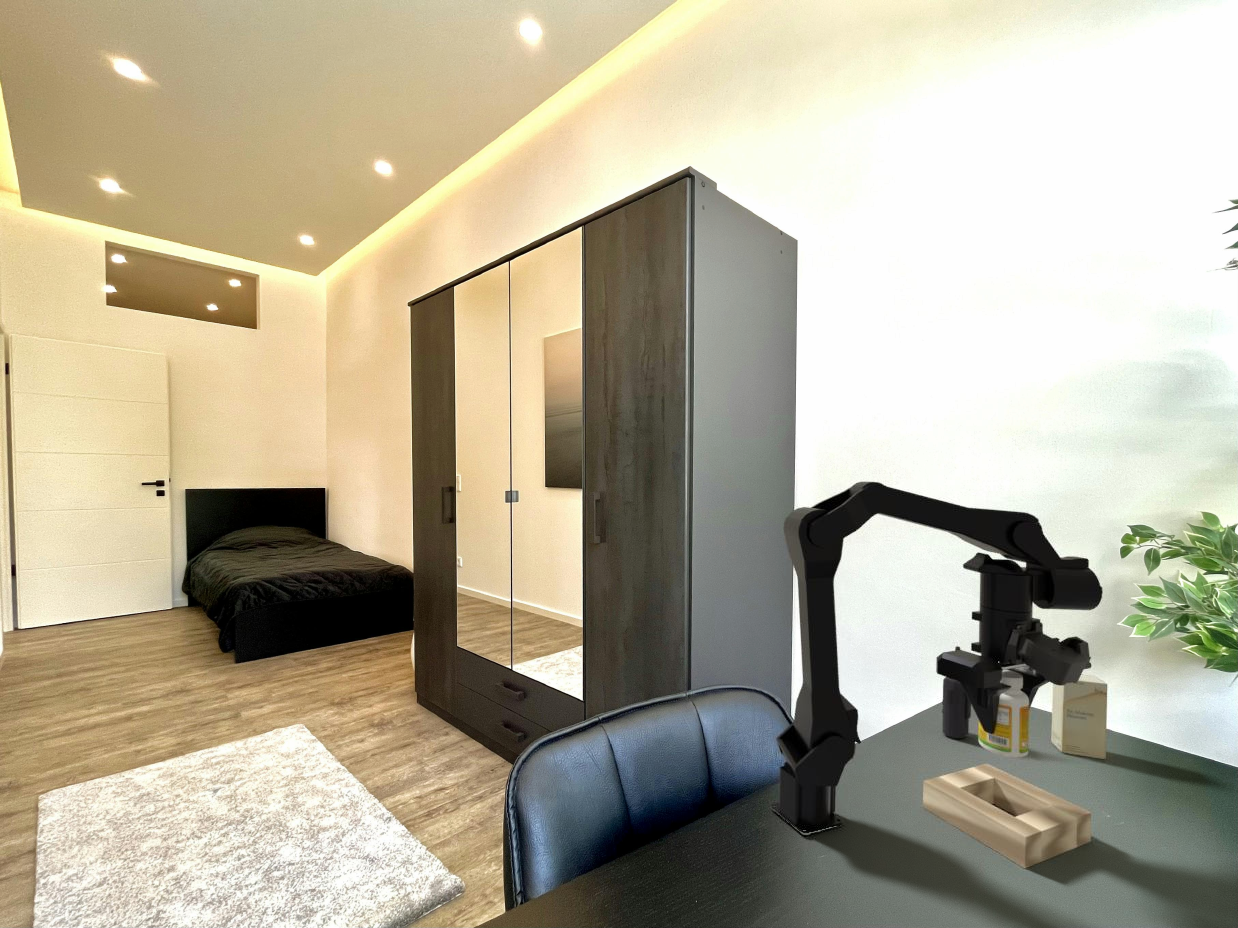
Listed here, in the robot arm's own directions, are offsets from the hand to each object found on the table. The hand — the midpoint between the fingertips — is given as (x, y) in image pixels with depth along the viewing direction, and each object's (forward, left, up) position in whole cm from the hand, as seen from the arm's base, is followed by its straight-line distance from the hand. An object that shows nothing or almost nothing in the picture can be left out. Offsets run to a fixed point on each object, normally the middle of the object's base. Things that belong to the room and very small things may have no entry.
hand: (1003, 729), depth 75 cm
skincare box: (+33, +8, -12) cm, 36 cm away
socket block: (0, 0, -12) cm, 12 cm away
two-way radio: (+19, +19, -12) cm, 30 cm away
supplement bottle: (0, 0, -3) cm, 3 cm away
